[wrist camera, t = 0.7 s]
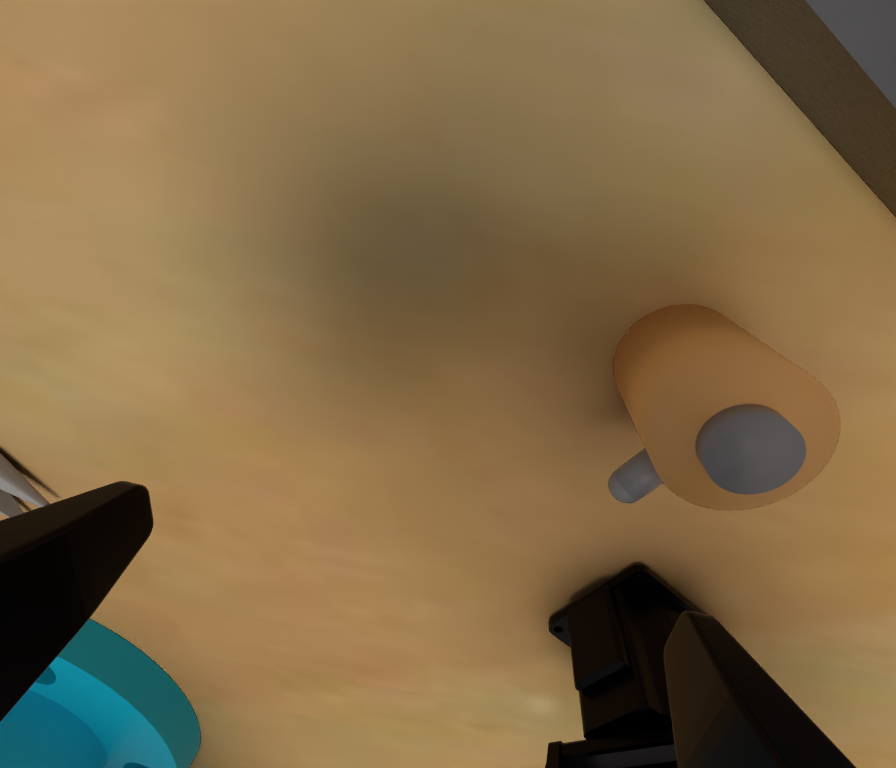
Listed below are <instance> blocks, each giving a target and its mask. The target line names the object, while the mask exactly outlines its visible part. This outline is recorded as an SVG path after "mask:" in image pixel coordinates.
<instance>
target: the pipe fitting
mask: <svg viewBox="0 0 896 768" xmlns="http://www.w3.org/2000/svg"><path fill="white" fill-rule="evenodd" d="M200 739H201V736H200V727H199V724H198V720H197V717H196V715H195V713H194V710H193V708H192V706H191V705H190V703H189V701H188V700H187V698H186V696H185V695H184V694H183V692H182V691H181V690H180V688H179V687H178V686H177V685H176V683H175V682H174V681H173V680H172V679H171V678H170V677H169V675H168V674H167V673H166V672H165V671H163V670H162V669H161V668H160V667H159V666H158V665H157V664H156V663H155V662H154V661H153V660H151V659H150V658H149V657H148V656H147V655H146V654H144V653H143V652H142V651H140V650H139V649H138V648H136V647H135V646H134V645H132V644H131V643H130V642H128V641H127V640H125V639H123V638H122V637H120V636H119V635H117V634H116V633H114V632H113V631H111V630H109V629H107V628H105V627H104V626H102V625H100V624H98V623H96V622H95V621H92V620H90V619H88V621H87V622H86V623H85V624H84V625H83V627H82V628H81V629H80V630H79V632H78V633H77V634H76V635H75V636H74V637H73V639H72V640H71V641H70V642H69V643H68V644H67V646H66V647H65V648H64V649H63V650H62V651H61V652H60V654H59V655H58V656H57V657H56V658H55V659H54V661H53V662H52V663H51V664H50V665H49V666H48V668H47V669H46V670H45V671H44V672H43V673H42V675H41V676H40V677H39V678H38V679H37V680H36V681H35V683H34V684H33V685H32V686H31V687H30V688H29V690H28V691H27V692H26V693H25V694H24V695H23V697H22V698H21V699H20V700H19V701H18V702H17V703H16V705H15V706H14V707H13V708H12V709H11V710H10V712H9V713H8V714H7V715H6V716H5V717H4V719H3V720H2V721H1V722H0V768H189V767H190V765H191V763H192V762H193V760H194V758H195V756H196V755H197V752H198V750H199V747H200Z"/></svg>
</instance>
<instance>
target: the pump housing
mask: <svg viewBox="0 0 896 768" xmlns="http://www.w3.org/2000/svg"><path fill="white" fill-rule="evenodd" d="M613 374H614V380H615V383H616V386H617V388H618V390H619V392H620V394H621V397H622V399H623V401H624V403H625V405H626V407H627V410H628V412H629V414H630V416H631V418H632V420H633V423H634V425H635V427H636V429H637V431H638V433H639V436H640V438H641V440H642V442H643V444H644V446H645V448H644V449H643V450H642V451H640V452H639V453H638V454H636V455H635V456H634V457H632V458H631V459H630V460H629V461H627V462H626V463H625V464H623V465H622V466H621V467H619V468H618V469H617V470H615V471H614V472H613V473H612V474H611V476H610V478H609V481H608V487H609V491H610V493H611V494H612V496H613V497H614V498H615V499H617V500H618V501H620V502H623V503H634V502H636V501H638V500H640V499H641V498H643V497H644V496H645V495H647V494H648V493H650V492H651V491H653V490H654V489H655V488H657V487H658V486H660V485H661V484H662V483H664V484H665V485H666V486H667V487H668V488H669V489H670V490H671V491H672V492H673V493H675V494H676V495H677V496H679V497H681V498H682V499H684V500H686V501H688V502H690V503H693V504H695V505H698V506H702V507H706V508H711V509H717V510H744V509H752V508H757V507H761V506H765V505H768V504H771V503H774V502H777V501H779V500H782V499H784V498H786V497H788V496H790V495H792V494H793V493H795V492H797V491H798V490H800V489H801V488H803V487H804V486H806V485H807V484H808V483H809V482H811V481H812V480H813V479H814V478H815V477H816V476H817V475H818V474H819V473H820V472H821V471H822V470H823V468H824V467H825V466H826V464H827V463H828V462H829V460H830V458H831V456H832V455H833V453H834V451H835V448H836V446H837V443H838V439H839V434H840V416H839V411H838V408H837V405H836V402H835V400H834V399H833V397H832V395H831V393H830V392H829V391H828V390H827V389H826V387H825V386H824V385H823V384H822V383H820V382H819V381H818V380H817V379H816V378H814V377H813V376H811V375H810V374H808V373H807V372H805V371H804V370H802V369H801V368H799V367H798V366H797V365H795V364H794V363H792V362H791V361H789V360H788V359H786V358H785V357H783V356H782V355H780V354H779V353H777V352H776V351H775V350H773V349H772V348H770V347H769V346H767V345H766V344H764V343H763V342H761V341H760V340H758V339H757V338H755V337H754V336H752V335H751V334H750V333H748V332H747V331H745V330H744V329H742V328H741V327H739V326H738V325H736V324H735V323H733V322H732V321H730V320H729V319H728V318H726V317H725V316H723V315H722V314H720V313H718V312H717V311H715V310H712V309H710V308H707V307H703V306H699V305H690V304H682V305H673V306H669V307H665V308H662V309H659V310H656V311H654V312H652V313H650V314H648V315H647V316H645V317H643V318H642V319H640V320H639V321H638V322H637V323H635V324H634V325H633V326H632V327H631V328H630V329H629V330H628V331H627V333H626V334H625V335H624V337H623V338H622V340H621V341H620V343H619V345H618V347H617V350H616V353H615V356H614V362H613Z"/></svg>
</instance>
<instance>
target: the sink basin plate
mask: <svg viewBox="0 0 896 768" xmlns="http://www.w3.org/2000/svg"><path fill="white" fill-rule="evenodd" d="M705 1H706V2H707V4H708V5H709V6H710V7H711V8H712V9H713V10H714V11H715V13H716V14H717V15H718V16H719V17H720V18H721V19H722V20H723V22H724V23H725V24H726V25H727V26H728V27H729V28H730V30H731V31H732V32H733V33H734V34H735V35H736V36H737V37H738V39H739V40H740V41H741V42H742V43H743V44H744V45H745V47H746V48H747V49H748V50H749V51H750V52H751V53H752V54H753V56H754V57H755V58H756V59H757V60H758V61H759V62H760V64H761V65H762V66H763V67H764V68H765V69H766V70H767V71H768V73H769V74H770V75H771V76H772V77H773V78H774V79H775V80H776V82H777V83H778V84H779V85H780V86H781V87H782V88H783V90H784V91H785V92H786V93H787V94H788V95H789V96H790V97H791V99H792V100H793V101H794V102H795V103H796V104H797V105H798V107H799V108H800V109H801V110H802V111H803V112H804V113H805V114H806V116H807V117H808V118H809V119H810V120H811V121H812V122H813V124H814V125H815V126H816V127H817V128H818V129H819V130H820V131H821V133H822V134H823V135H824V136H825V137H826V138H827V139H828V140H829V142H830V143H831V144H832V145H833V146H834V147H835V148H836V150H837V151H838V152H839V153H840V154H841V155H842V156H843V157H844V159H845V160H846V161H847V162H848V163H849V164H850V165H851V167H852V168H853V169H854V170H855V171H856V172H857V173H858V174H859V176H860V177H861V178H862V179H863V180H864V181H865V182H866V184H867V185H868V186H869V187H870V188H871V189H872V190H873V191H874V193H875V194H876V195H877V196H878V197H879V198H880V199H881V201H882V202H883V203H884V204H885V205H886V206H887V207H888V208H889V210H890V211H891V212H892V213H893V214H894V215H895V216H896V0H705Z"/></svg>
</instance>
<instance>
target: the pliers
mask: <svg viewBox="0 0 896 768" xmlns="http://www.w3.org/2000/svg"><path fill="white" fill-rule="evenodd" d="M11 494H12V495H14V496H16V497H19V498H21V499H23V500H25V501H28V502H30V503H32V504H34V505H36V506H39V507H43V506H46V505H49V504H50V503H49V502H48V501H47V500H46V499H45V498H44V497H43V496H42V495H41V494H40V493H39V492H38V491H37V490H36V489H35V488H34V487H33V486H32V485H31V484H30V483H29V482H28V481H27V480H26V479H25V478H24V477H23V476H22V475H21V474H20V473H19V472H18V471H17V470H16V469H15V467H14V466H13V465H12V464H11V463H10V462H9V461H8V460H7V459H6V458H5V457H4V456H3V455H2V454H1V453H0V513H1V514H3V515H5V516H7V517H8V518H10V517H13V516H16V515H19V514H22V513H24V512H23V510H22V509H21V508H20V506H19V505H18V504H17V502H16V501H15V500H14V498H13V497H12V496H11Z"/></svg>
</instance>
